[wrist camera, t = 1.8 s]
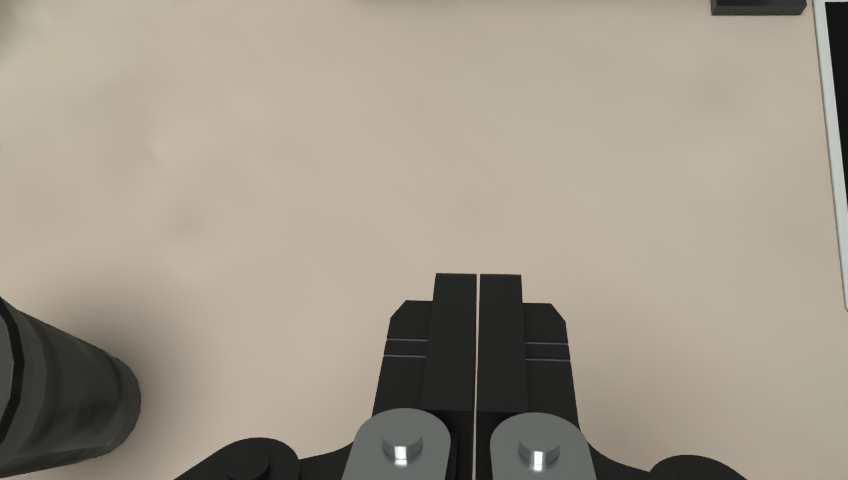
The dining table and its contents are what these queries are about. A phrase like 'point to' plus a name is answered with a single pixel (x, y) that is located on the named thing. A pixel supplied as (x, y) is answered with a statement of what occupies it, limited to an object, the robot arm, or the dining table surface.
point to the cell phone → (835, 111)
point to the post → (757, 7)
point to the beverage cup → (58, 396)
